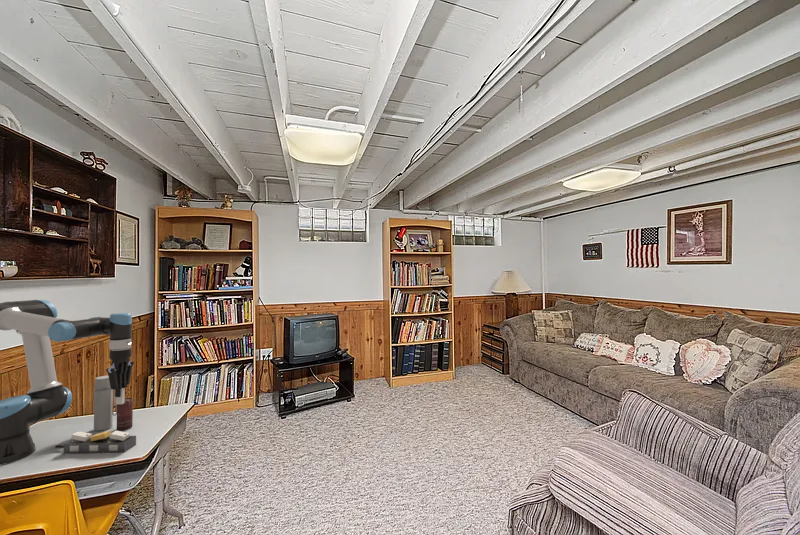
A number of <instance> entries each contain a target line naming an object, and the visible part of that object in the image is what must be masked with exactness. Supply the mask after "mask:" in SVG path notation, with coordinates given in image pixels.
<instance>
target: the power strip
mask: <svg viewBox="0 0 800 535" xmlns="http://www.w3.org/2000/svg"><path fill="white" fill-rule="evenodd" d="M136 445H137V435H129V438H127V439H125V440H124V441H122V440H117V439H112V438H110V436H108V437H106V438H104V439H99V440H95V441H91V439H89V440H87V441H80V440H75V439H70V440H69V441H67V442H65V443H63V444H56V445H55V446H54V448H55V449H62V450H63V452H62V453H63V455H76V454H77V455H79V454H82V455H83V454H84V455H85V454H86V455H87V454H88V455H89V454H125V453H126V452H128V451H129V450H130V449H132V448H133V447H135V446H136Z"/></svg>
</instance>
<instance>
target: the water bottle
mask: <svg viewBox="0 0 800 535" xmlns="http://www.w3.org/2000/svg"><path fill="white" fill-rule="evenodd" d="M94 380H95V381H94V387H93V389H94V390H93V396H94V397H93V431H94V432H102V431H103V432H104V431H106V430H109V429H111V428H112V427H113V416H114V417H115V416H117V404H116V397H115V389H111V387H110V381H109V376H108V374H107V375H102V376H97V377H95V379H94ZM114 402H115V406H114ZM114 407H115V409H116V410H115V414H114Z"/></svg>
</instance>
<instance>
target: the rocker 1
mask: <svg viewBox="0 0 800 535" xmlns="http://www.w3.org/2000/svg"><path fill="white" fill-rule="evenodd" d="M92 436H93V433H91V432H90V433H89V432H84V431H76V432H74V433H72V434H71V437H70V440H73V439H75V440H80V441H87V440H89V439H90V437H92Z"/></svg>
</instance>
